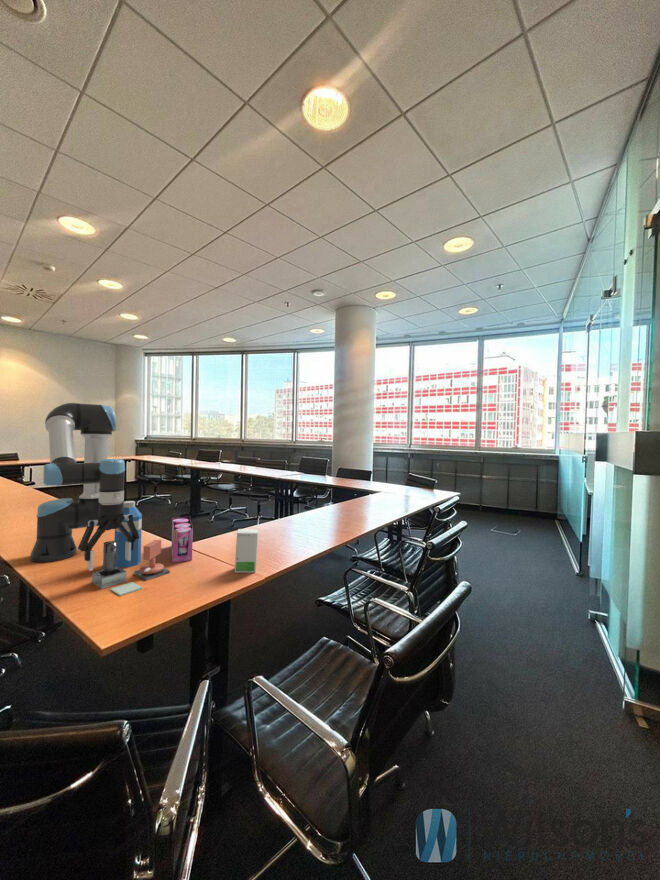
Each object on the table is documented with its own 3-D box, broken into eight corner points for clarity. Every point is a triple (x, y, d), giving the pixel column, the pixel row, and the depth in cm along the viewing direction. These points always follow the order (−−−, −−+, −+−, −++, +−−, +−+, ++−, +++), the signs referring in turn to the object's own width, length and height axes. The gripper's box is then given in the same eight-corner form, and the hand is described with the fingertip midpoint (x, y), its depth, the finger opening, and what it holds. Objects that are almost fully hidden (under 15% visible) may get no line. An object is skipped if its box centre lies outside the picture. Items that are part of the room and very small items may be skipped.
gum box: (192, 561, 143) (193, 529, 143) (172, 564, 140) (172, 530, 140) (189, 544, 165) (190, 516, 165) (171, 546, 161) (171, 517, 161)
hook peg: (100, 582, 121) (101, 542, 121) (112, 578, 124) (113, 540, 124) (107, 586, 118) (108, 546, 117) (120, 583, 121) (121, 543, 121)
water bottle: (128, 569, 133) (130, 504, 133) (107, 566, 135) (109, 503, 135) (145, 560, 142) (147, 500, 142) (126, 558, 144) (128, 499, 144)
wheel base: (133, 574, 129) (133, 570, 129) (157, 567, 136) (157, 563, 136) (145, 580, 123) (146, 577, 123) (169, 572, 131) (169, 569, 131)
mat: (110, 590, 115) (110, 588, 115) (132, 583, 121) (132, 581, 121) (120, 596, 111) (120, 594, 111) (142, 588, 117) (142, 587, 117)
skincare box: (234, 573, 133) (235, 533, 132) (236, 566, 139) (237, 528, 139) (256, 572, 134) (257, 532, 134) (257, 566, 140) (258, 528, 140)
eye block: (91, 582, 120) (92, 572, 120) (116, 575, 127) (116, 566, 127) (101, 589, 116) (101, 578, 116) (126, 581, 122) (126, 571, 122)
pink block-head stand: (147, 565, 134) (148, 539, 134) (167, 566, 134) (168, 540, 133) (134, 574, 125) (135, 546, 125) (156, 575, 125) (157, 547, 125)
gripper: (75, 509, 109) (74, 577, 109) (150, 499, 129) (149, 557, 129) (66, 506, 113) (65, 572, 114) (140, 497, 133) (139, 553, 133)
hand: (109, 564), depth 121 cm, fingers open, 11 cm apart
